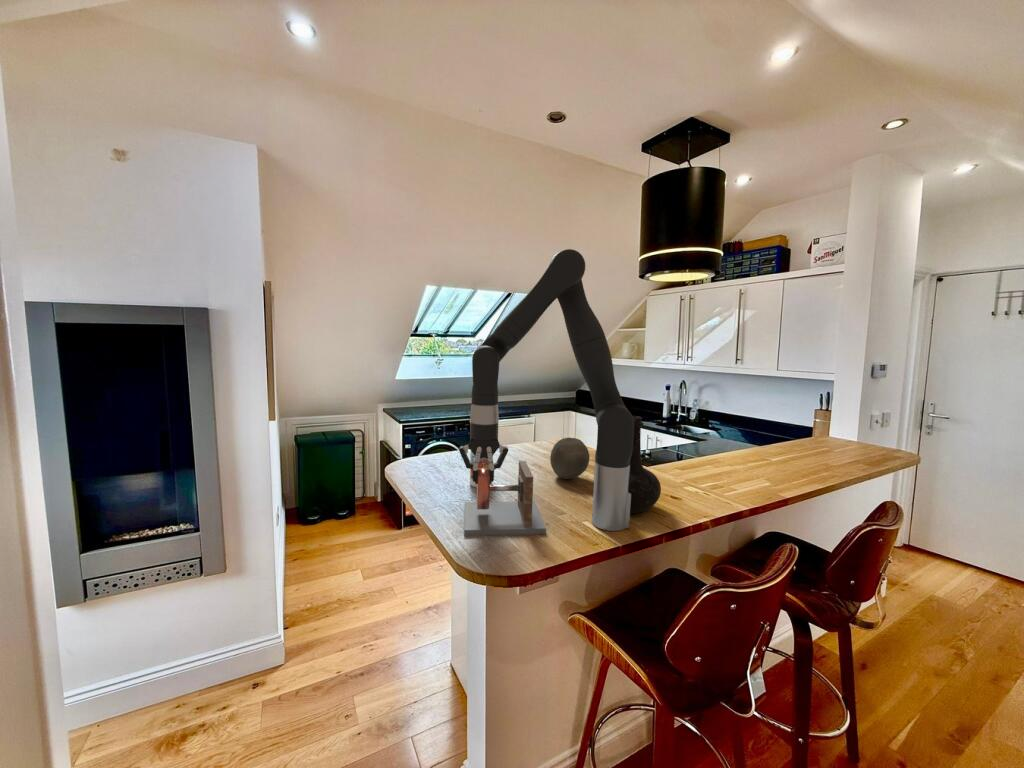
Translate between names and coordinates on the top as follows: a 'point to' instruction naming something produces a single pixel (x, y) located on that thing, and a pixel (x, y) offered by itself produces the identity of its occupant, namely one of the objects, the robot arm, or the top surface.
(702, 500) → the top surface
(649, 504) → the dark bulbous vase
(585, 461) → the dark brown ball
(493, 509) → the base board
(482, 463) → the milk bottle
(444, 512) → the top surface
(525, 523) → the brown wooden panel
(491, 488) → the copper disc with rod
